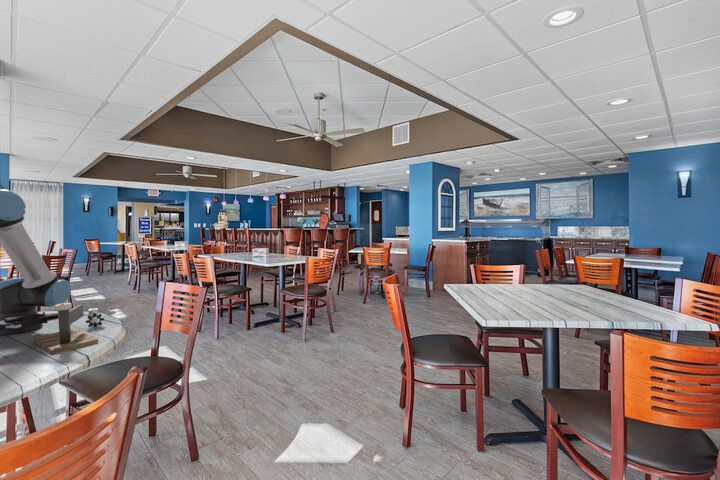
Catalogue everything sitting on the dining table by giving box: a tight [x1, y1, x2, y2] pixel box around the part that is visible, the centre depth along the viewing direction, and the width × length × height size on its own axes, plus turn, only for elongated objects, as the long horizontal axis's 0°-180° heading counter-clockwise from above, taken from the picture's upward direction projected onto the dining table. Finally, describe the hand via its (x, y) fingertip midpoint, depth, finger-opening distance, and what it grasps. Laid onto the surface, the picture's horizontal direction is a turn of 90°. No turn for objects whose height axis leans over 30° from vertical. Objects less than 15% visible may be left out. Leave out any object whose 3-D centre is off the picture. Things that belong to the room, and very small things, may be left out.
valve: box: [85, 307, 105, 329], centre depth 157 cm, size 7×7×12 cm
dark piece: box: [54, 302, 84, 343], centre depth 135 cm, size 22×5×15 cm, turn 21°
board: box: [32, 327, 99, 355], centre depth 135 cm, size 24×14×2 cm, turn 55°
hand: (67, 313), depth 139 cm, fingers closed
